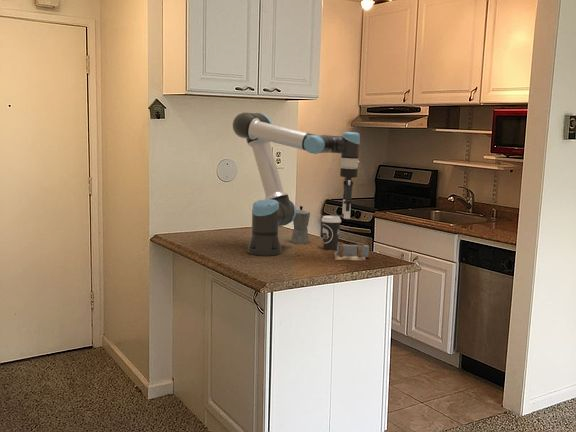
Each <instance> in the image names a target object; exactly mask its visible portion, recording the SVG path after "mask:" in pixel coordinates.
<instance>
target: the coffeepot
mask: <svg viewBox="0 0 576 432" xmlns="http://www.w3.org/2000/svg"><path fill="white" fill-rule="evenodd" d="M310 216H311V211H308V210H305V209H303V205H300V206H299V209H296V216H295V218H294V220H293V221H292V222H293V231H292V235H291V243H293V244H299V245H300V244H301V245H303V244H308V243H310V238H309V231H308V226H309V222H310Z"/></svg>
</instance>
